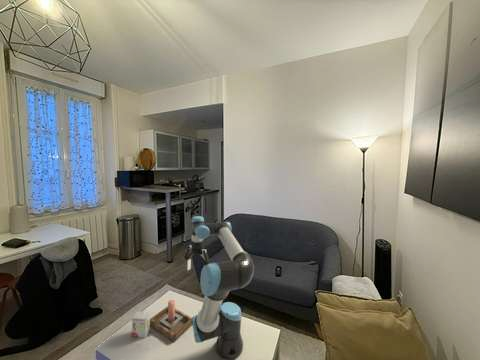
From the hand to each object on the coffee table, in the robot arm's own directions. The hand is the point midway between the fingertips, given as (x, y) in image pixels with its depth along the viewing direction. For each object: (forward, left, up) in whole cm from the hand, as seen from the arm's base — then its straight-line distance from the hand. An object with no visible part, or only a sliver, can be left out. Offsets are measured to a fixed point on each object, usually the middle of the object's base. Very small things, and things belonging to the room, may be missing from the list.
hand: (196, 272), depth 129 cm
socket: (+8, +13, -31) cm, 35 cm away
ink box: (+18, +27, -31) cm, 45 cm away
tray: (+8, +13, -31) cm, 35 cm away
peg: (+8, +13, -30) cm, 34 cm away
